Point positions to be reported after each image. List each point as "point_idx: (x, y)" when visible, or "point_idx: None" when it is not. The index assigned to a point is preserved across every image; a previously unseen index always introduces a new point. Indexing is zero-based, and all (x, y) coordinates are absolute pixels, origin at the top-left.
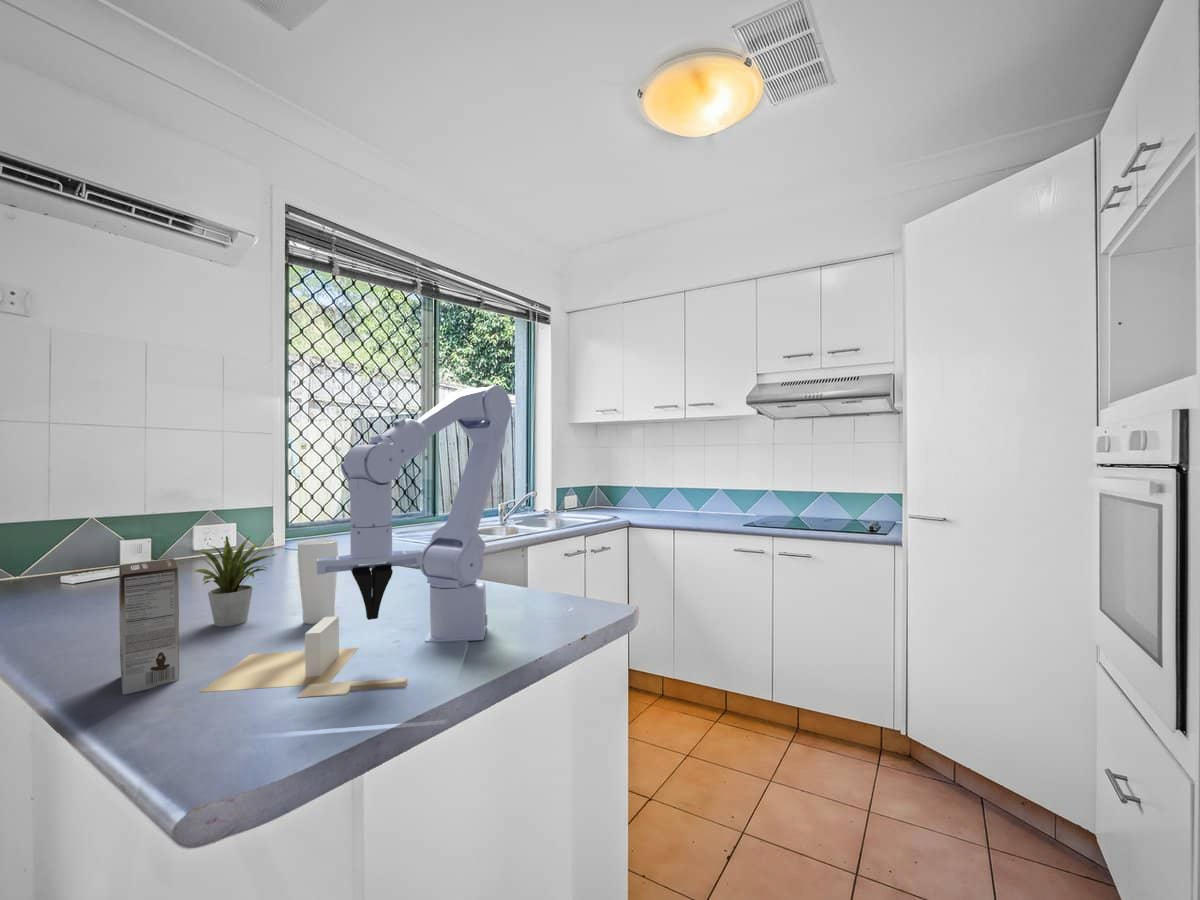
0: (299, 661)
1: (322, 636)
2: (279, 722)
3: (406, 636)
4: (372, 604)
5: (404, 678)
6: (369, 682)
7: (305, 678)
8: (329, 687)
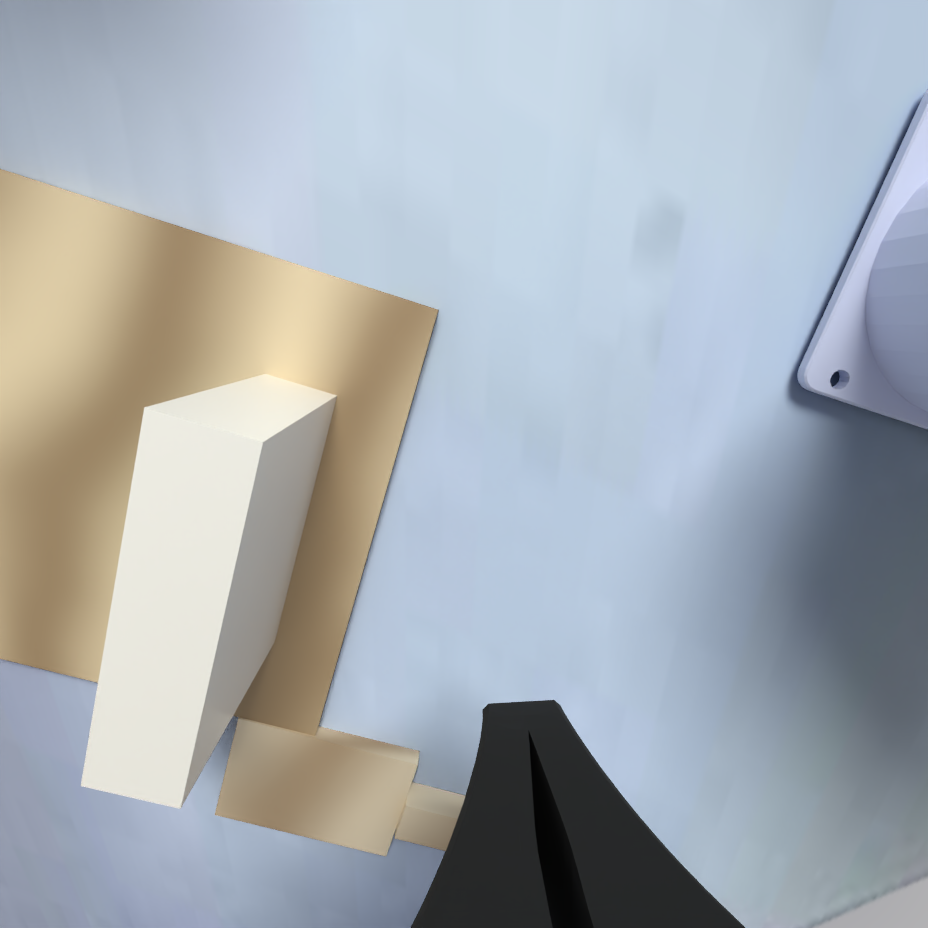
0: (140, 395)
1: (205, 746)
2: (196, 923)
3: (735, 155)
4: (542, 829)
5: None
6: None
7: None
8: (321, 783)
